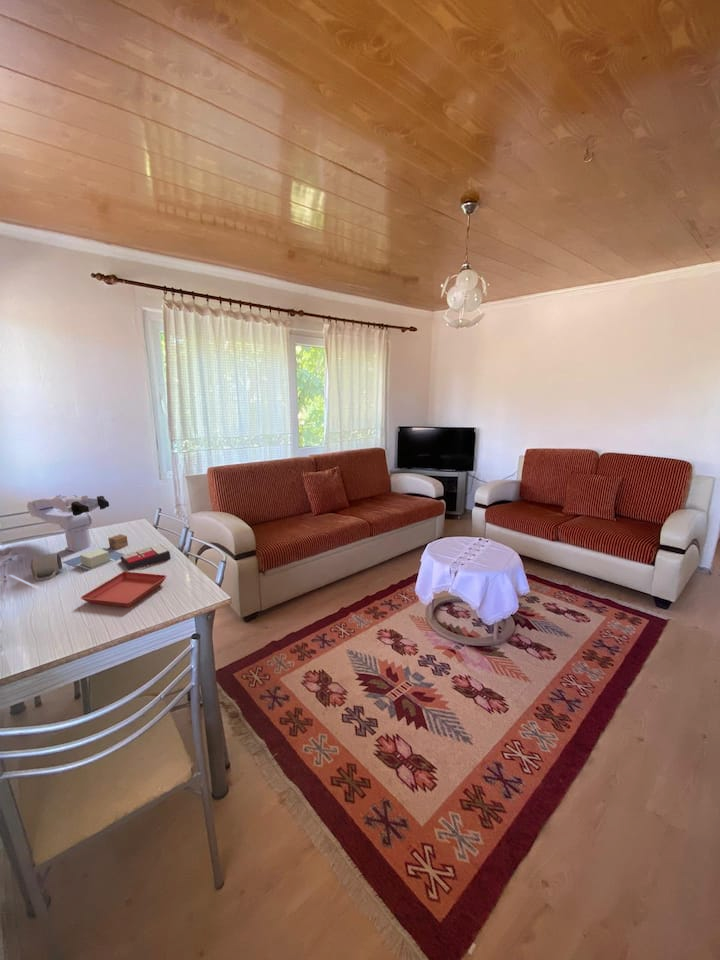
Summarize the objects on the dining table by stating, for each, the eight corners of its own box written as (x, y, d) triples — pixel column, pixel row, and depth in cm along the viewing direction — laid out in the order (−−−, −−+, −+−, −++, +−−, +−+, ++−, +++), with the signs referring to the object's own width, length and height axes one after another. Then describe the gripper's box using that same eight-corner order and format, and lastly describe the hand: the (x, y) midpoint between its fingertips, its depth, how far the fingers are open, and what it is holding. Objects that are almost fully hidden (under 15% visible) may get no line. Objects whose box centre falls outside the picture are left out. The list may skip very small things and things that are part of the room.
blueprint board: (62, 563, 153) (62, 562, 153) (104, 549, 167) (104, 547, 166) (86, 573, 144) (86, 571, 144) (129, 556, 158) (128, 555, 158)
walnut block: (110, 548, 167) (108, 537, 166) (121, 544, 171) (119, 534, 170) (116, 550, 165) (114, 539, 164) (128, 546, 169) (126, 536, 168)
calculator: (119, 554, 152) (159, 542, 162) (122, 564, 153) (161, 551, 163) (127, 563, 145) (169, 549, 155) (130, 573, 146) (171, 559, 156)
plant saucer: (129, 612, 119) (127, 602, 118) (80, 606, 122) (78, 597, 122) (169, 583, 136) (167, 575, 135) (125, 579, 140) (123, 571, 139)
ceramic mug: (36, 573, 145) (32, 554, 143) (63, 567, 149) (59, 549, 147) (31, 585, 136) (26, 565, 134) (59, 579, 140) (55, 560, 138)
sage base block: (81, 564, 150) (79, 554, 150) (100, 557, 156) (98, 548, 156) (91, 568, 147) (89, 558, 146) (110, 561, 153) (108, 551, 152)
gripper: (58, 499, 154) (75, 501, 147) (96, 491, 166) (114, 492, 160) (62, 516, 155) (79, 518, 148) (100, 507, 167) (117, 509, 161)
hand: (98, 506), depth 154 cm, fingers open, 7 cm apart
